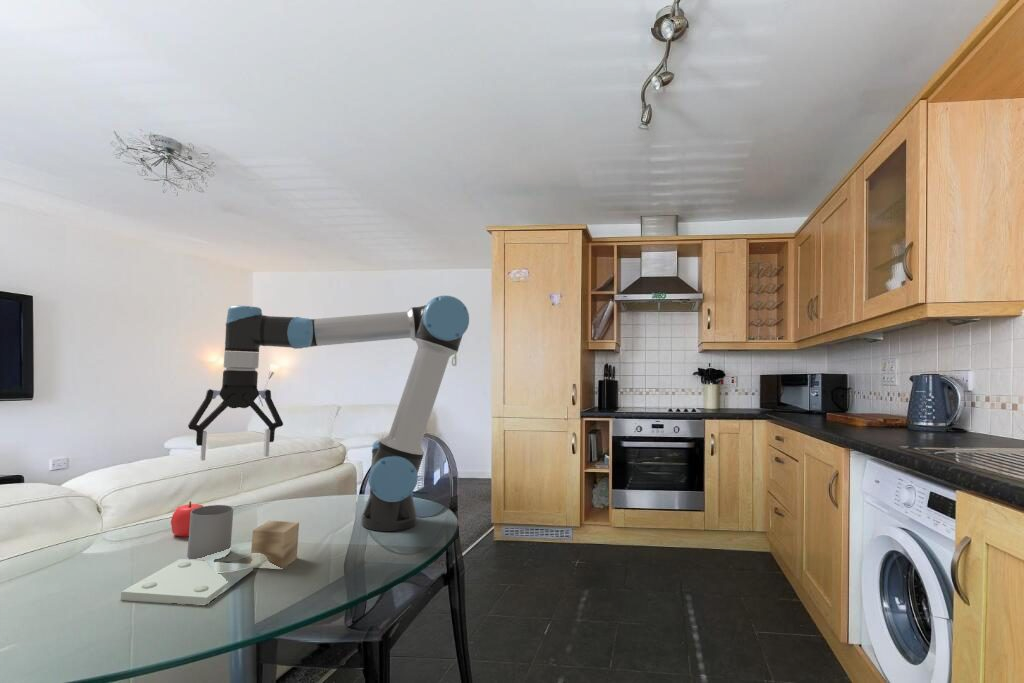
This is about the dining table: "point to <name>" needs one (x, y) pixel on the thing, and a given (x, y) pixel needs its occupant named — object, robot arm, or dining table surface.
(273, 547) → the oak block
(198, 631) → the dining table surface
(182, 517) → the apple
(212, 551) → the cup
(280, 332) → the robot arm
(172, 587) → the plate
